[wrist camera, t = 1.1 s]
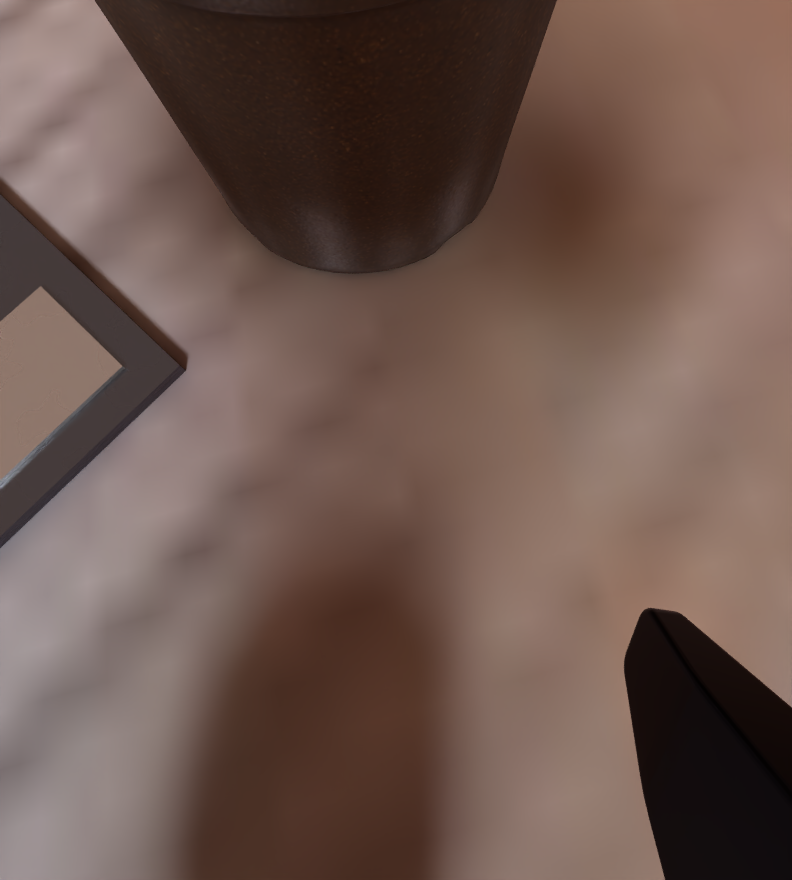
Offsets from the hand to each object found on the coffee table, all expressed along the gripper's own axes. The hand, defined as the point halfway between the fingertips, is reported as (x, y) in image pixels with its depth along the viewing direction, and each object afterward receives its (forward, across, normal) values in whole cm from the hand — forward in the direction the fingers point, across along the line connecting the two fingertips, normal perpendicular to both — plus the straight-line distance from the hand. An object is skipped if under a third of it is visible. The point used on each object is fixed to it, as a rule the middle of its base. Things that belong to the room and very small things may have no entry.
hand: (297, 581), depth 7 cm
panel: (+15, +18, +2) cm, 23 cm away
